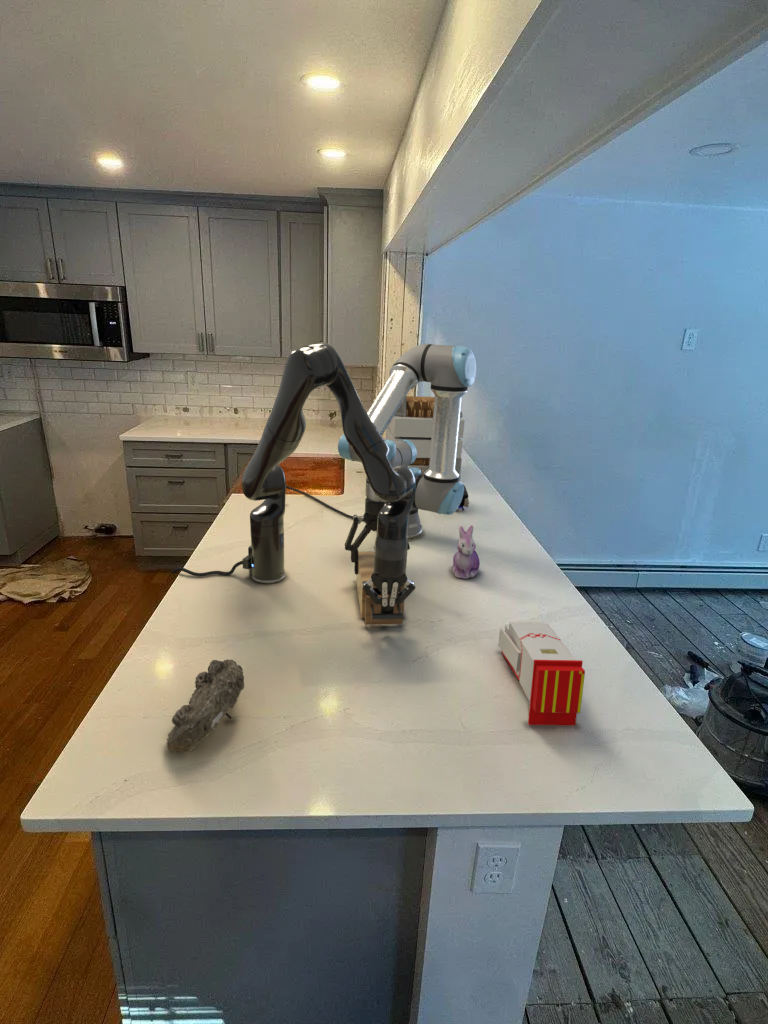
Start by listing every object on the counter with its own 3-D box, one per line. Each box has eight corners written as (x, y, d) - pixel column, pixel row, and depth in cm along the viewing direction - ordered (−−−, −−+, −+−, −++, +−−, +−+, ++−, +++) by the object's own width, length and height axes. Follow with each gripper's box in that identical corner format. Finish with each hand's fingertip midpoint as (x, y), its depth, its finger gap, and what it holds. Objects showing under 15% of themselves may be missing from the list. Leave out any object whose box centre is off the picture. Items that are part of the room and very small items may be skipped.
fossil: (192, 660, 117) (244, 628, 112) (224, 691, 120) (276, 661, 115) (142, 746, 98) (202, 712, 93) (182, 779, 101) (242, 748, 96)
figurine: (462, 582, 166) (466, 535, 161) (443, 568, 174) (447, 522, 169) (488, 576, 170) (493, 530, 165) (468, 563, 179) (472, 518, 173)
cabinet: (402, 617, 146) (404, 584, 143) (361, 618, 145) (362, 584, 141) (392, 581, 165) (394, 551, 162) (356, 581, 164) (357, 551, 160)
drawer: (406, 636, 136) (408, 608, 133) (367, 637, 135) (368, 609, 132) (393, 588, 159) (394, 563, 156) (359, 588, 158) (360, 563, 155)
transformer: (382, 463, 289) (386, 382, 275) (445, 464, 293) (451, 384, 279) (390, 482, 257) (394, 392, 243) (460, 483, 261) (468, 394, 247)
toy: (544, 607, 134) (594, 667, 105) (539, 659, 137) (586, 732, 108) (493, 606, 134) (529, 666, 105) (489, 658, 137) (523, 731, 107)
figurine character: (468, 516, 224) (463, 500, 237) (471, 498, 221) (465, 483, 234) (452, 515, 224) (447, 499, 237) (453, 498, 220) (449, 482, 234)
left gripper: (363, 559, 126) (360, 626, 132) (422, 559, 127) (416, 625, 134) (360, 545, 133) (358, 610, 139) (416, 545, 134) (411, 609, 141)
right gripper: (336, 502, 147) (335, 578, 155) (424, 502, 150) (418, 577, 157) (335, 493, 154) (334, 566, 162) (419, 493, 157) (414, 566, 164)
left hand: (386, 617), depth 136 cm, fingers closed
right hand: (376, 572), depth 160 cm, fingers closed on cabinet, 11 cm apart
